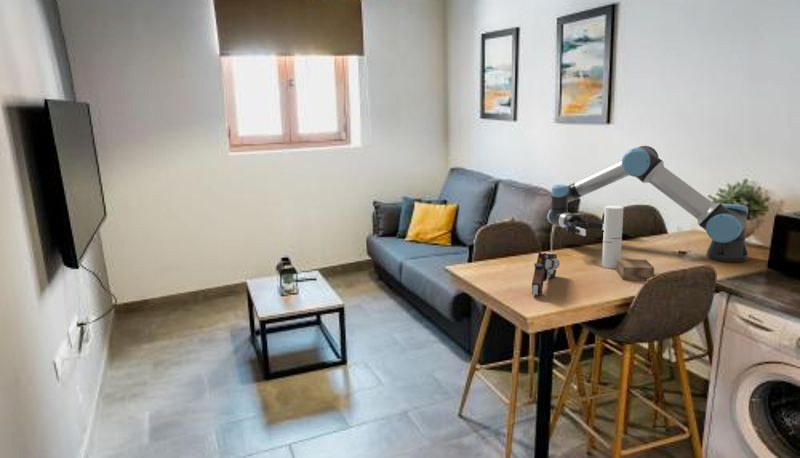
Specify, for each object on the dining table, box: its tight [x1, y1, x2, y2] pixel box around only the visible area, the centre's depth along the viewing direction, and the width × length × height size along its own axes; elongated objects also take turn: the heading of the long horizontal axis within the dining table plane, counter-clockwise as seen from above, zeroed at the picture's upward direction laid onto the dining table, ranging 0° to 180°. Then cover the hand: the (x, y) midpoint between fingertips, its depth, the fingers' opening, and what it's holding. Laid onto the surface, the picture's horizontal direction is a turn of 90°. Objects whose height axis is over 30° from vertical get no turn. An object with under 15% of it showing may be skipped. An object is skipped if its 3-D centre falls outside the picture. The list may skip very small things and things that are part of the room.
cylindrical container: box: [601, 204, 624, 269], centre depth 226 cm, size 7×7×25 cm
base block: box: [615, 258, 655, 281], centre depth 215 cm, size 11×11×5 cm
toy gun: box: [531, 252, 561, 296], centre depth 207 cm, size 5×28×15 cm, turn 152°
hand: (599, 231), depth 234 cm, fingers open, 13 cm apart
